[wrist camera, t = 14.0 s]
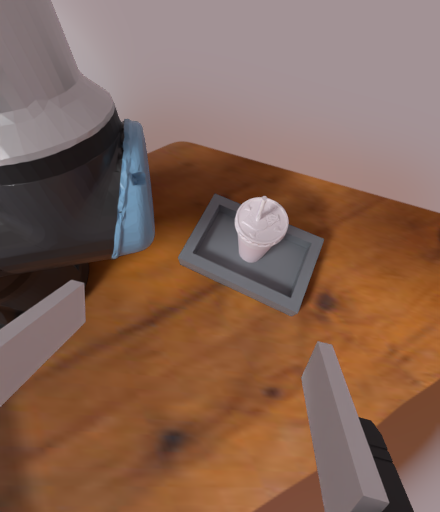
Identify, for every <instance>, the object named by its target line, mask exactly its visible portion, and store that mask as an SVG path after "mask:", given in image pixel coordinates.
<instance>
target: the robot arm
mask: <svg viewBox="0 0 440 512" xmlns="http://www.w3.org/2000/svg"><path fill="white" fill-rule="evenodd" d="M154 235H155V226H154V212H153V201H152V191H151V182H150V174H149V165H148V157H147V151H146V143H145V138H144V134H143V128H142V126H141V124H140V123H139V122H137V121H131V120H129V119H125V120H124V121H123V122H121V121H120V119H119V117H118V114H117V111H116V108H115V105H114V102H113V100H112V97H111V95H110V94H109V93H108V92H107V91H106V90H105V89H103V88H102V87H100V86H99V85H97V84H95V83H94V82H92V81H91V80H89V79H88V78H86V77H85V76H83V74H82V73H81V72H80V71H79V70H78V67H77V65H76V62H75V60H74V57H73V55H72V52H71V50H70V47H69V45H68V42H67V40H66V37H65V35H64V33H63V30H62V27H61V25H60V22H59V20H58V17H57V15H56V12H55V9H54V7H53V4H52V2H51V0H0V406H1V405H2V404H4V403H5V402H6V401H7V400H8V399H9V398H10V397H11V396H12V395H13V394H14V393H15V392H16V391H17V390H18V389H19V388H20V387H21V386H22V385H23V384H24V383H25V382H26V381H27V380H28V379H29V378H30V377H31V376H32V375H33V374H34V373H35V372H36V371H37V370H38V369H39V368H40V367H41V366H42V365H43V364H44V363H45V362H46V361H47V360H48V359H49V358H50V357H51V356H52V355H53V354H54V353H55V352H56V351H57V350H58V349H59V348H60V347H61V346H62V345H63V344H64V343H65V342H66V341H67V340H68V339H69V338H70V337H71V336H72V335H73V334H74V333H75V332H76V331H77V330H78V329H79V328H80V327H81V326H82V325H83V324H84V323H85V291H84V289H85V286H86V283H87V279H88V274H89V264H88V262H95V261H101V260H107V259H117V258H118V257H119V256H122V255H127V254H131V253H135V252H139V251H143V250H144V249H146V248H147V247H149V246H150V245H151V243H152V241H153V239H154ZM301 379H302V385H303V390H304V396H305V402H306V407H307V413H308V419H309V424H310V430H311V436H312V441H313V447H314V453H315V458H316V464H317V470H318V475H319V481H320V486H321V492H322V498H323V504H324V509H325V512H414V511H413V508H412V506H411V504H410V501H409V499H408V497H407V494H406V492H405V489H404V487H403V485H402V483H401V480H400V478H399V475H398V473H397V470H396V468H395V466H394V464H393V463H392V462H393V461H392V459H391V456H390V454H389V452H388V451H387V447H386V444H385V442H384V440H383V437H382V435H381V434H380V432H379V431H378V429H377V428H376V427H375V425H374V424H373V423H372V421H371V420H367V419H363V418H360V417H358V415H357V412H356V409H355V407H354V404H353V401H352V398H351V396H350V393H349V390H348V387H347V385H346V382H345V379H344V376H343V374H342V371H341V368H340V365H339V362H338V360H337V357H336V354H335V351H334V349H333V346H332V345H331V344H327V343H323V342H319V341H318V342H317V344H316V346H315V348H314V351H313V353H312V355H311V357H310V359H309V362H308V364H307V366H306V368H305V371H304V373H303V375H302V377H301Z"/></svg>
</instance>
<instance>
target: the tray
mask: <svg viewBox="0 0 440 512" xmlns="http://www.w3.org/2000/svg"><path fill="white" fill-rule="evenodd" d="M240 206H241V204H239V203H237V202H234V201H232V200H229V199H227V198H225V197H222V196H220V195H217V194H214V196H213V198H212V199H211V201H210V203H209V204H208V206H207V208H206V210H205V211H204V213H203V215H202V217H201V218H200V220H199V222H198V224H197V225H196V227H195V229H194V230H193V232H192V234H191V236H190V237H189V239H188V241H187V243H186V244H185V246H184V248H183V250H182V251H181V253H180V255H179V256H178V259H179V262H180V265H183V266H185V267H187V268H189V269H191V270H193V271H195V272H198V273H200V274H202V275H204V276H206V277H208V278H210V279H212V280H215V281H217V282H219V283H221V284H223V285H225V286H227V287H230V288H232V289H234V290H236V291H238V292H240V293H242V294H245V295H247V296H249V297H251V298H253V299H255V300H257V301H260V302H262V303H264V304H266V305H268V306H270V307H272V308H274V309H277V310H279V311H281V312H283V313H285V314H287V315H289V316H293V315H295V314H297V313H298V311H299V309H300V306H301V303H302V300H303V297H304V295H305V292H306V289H307V286H308V283H309V281H310V278H311V275H312V272H313V270H314V267H315V264H316V261H317V258H318V256H319V253H320V250H321V247H322V244H323V242H324V239H323V238H320V237H318V236H316V235H313V234H311V233H308V232H306V231H304V230H301V229H299V228H296V227H294V226H292V225H289V224H288V229H287V232H286V234H285V236H284V238H283V239H282V240H281V241H280V242H279V243H277V244H275V245H273V246H272V247H271V248H270V249H269V250H268V251H267V252H266V253H265V254H264V255H263V257H262V258H261V259H260V260H258V261H257V262H253V263H250V262H246V261H244V260H243V259H242V258H241V257H240V254H239V246H238V233H237V231H236V228H235V217H236V213H237V210H238V208H239V207H240Z"/></svg>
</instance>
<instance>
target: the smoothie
mask: <svg viewBox="0 0 440 512" xmlns="http://www.w3.org/2000/svg"><path fill="white" fill-rule="evenodd" d="M288 224H289V220H288V216H287V213H286V211H285V210H284V208H283V207H282V206H281V205H280V204H279V203H277V202H276V201H274V200H272V199H269V198H267V197H266V196H263V197H256V198H252V199H249V200H247V201H245V202H244V203H243V204H242V205H241V206H240V207H239V208H238V210H237V213H236V217H235V228H236V231H237V233H238V246H239V254H240V257H241V258H242V259H243V260H244V261H246V262H250V263H253V262H257V261H258V260H260V259H261V258H262V257H263V255H264V254H265V253H266V252H267V251H268V250H269V249H270V248H271V247H272V246H273V245H275V244H277V243H279V242H280V241H281V240H282V239H283V238H284V236H285V234H286V232H287V229H288Z"/></svg>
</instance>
